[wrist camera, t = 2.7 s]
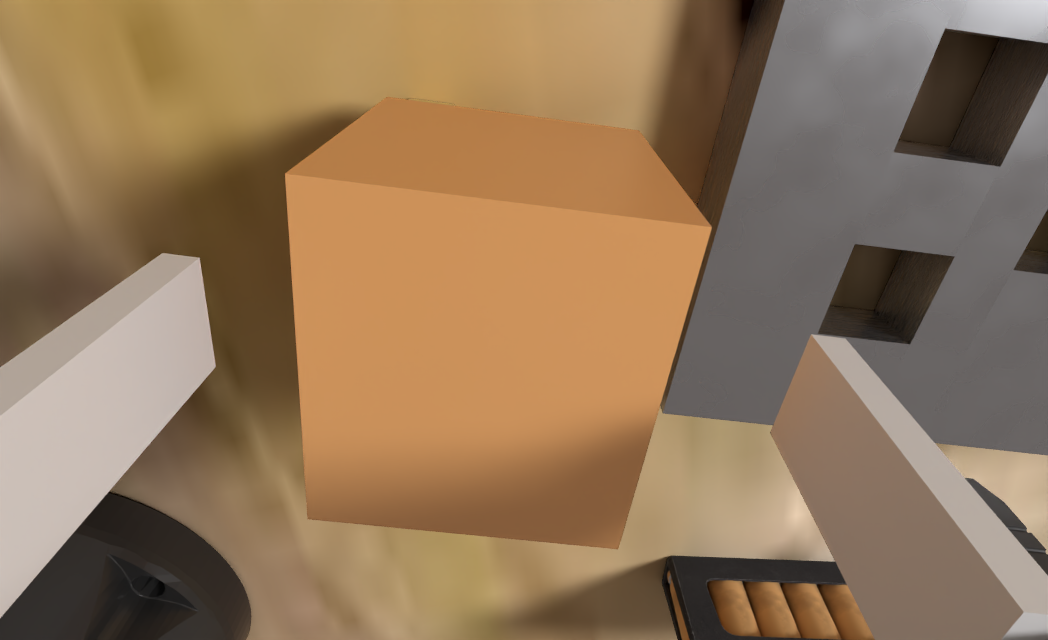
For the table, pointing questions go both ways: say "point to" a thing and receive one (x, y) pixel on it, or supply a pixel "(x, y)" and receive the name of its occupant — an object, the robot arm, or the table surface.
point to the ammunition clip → (760, 600)
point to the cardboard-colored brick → (485, 319)
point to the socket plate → (877, 220)
